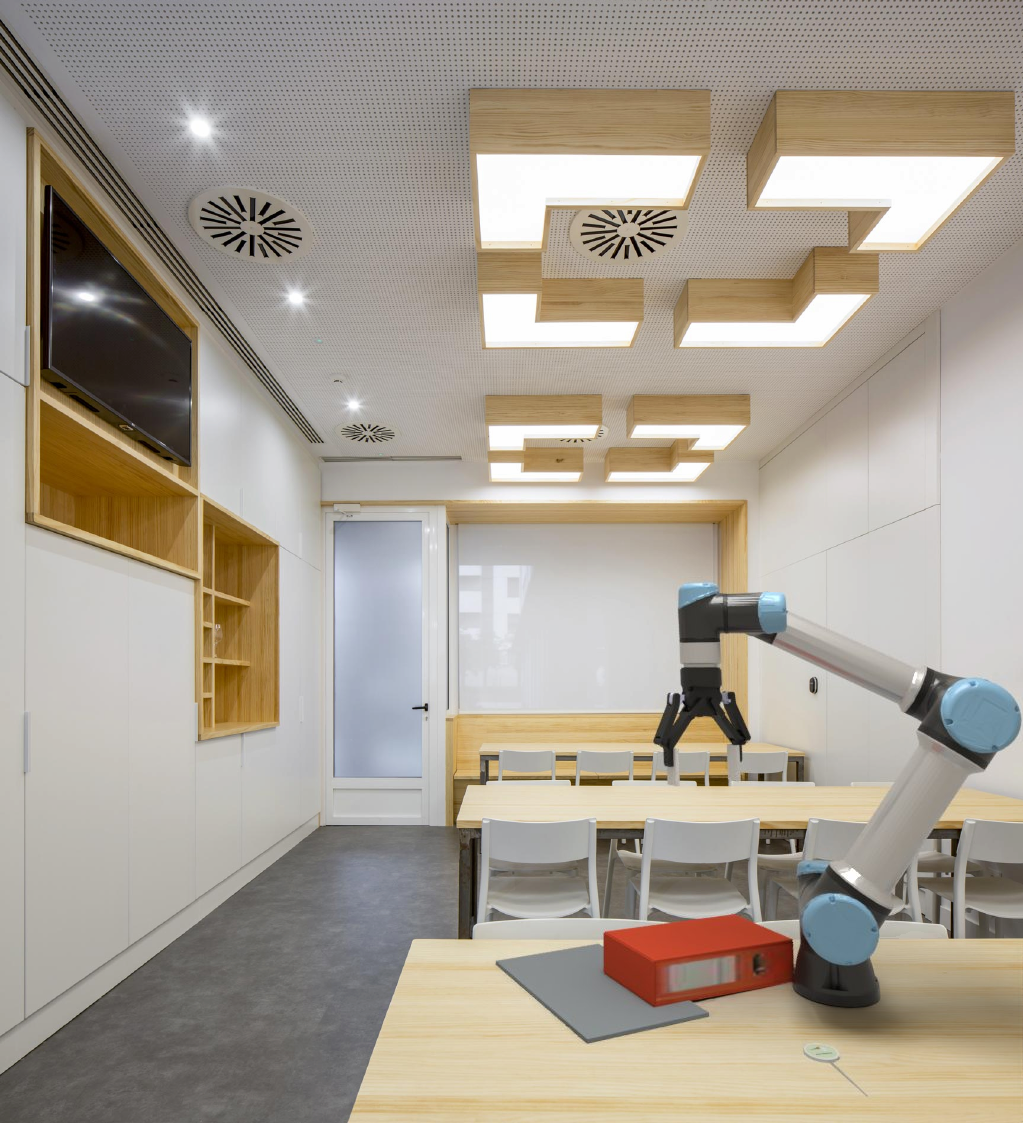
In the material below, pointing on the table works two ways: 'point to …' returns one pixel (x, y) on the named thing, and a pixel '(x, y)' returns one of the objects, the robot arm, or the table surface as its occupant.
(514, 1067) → the table surface
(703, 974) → the file binder
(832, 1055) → the sign
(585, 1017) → the mat
